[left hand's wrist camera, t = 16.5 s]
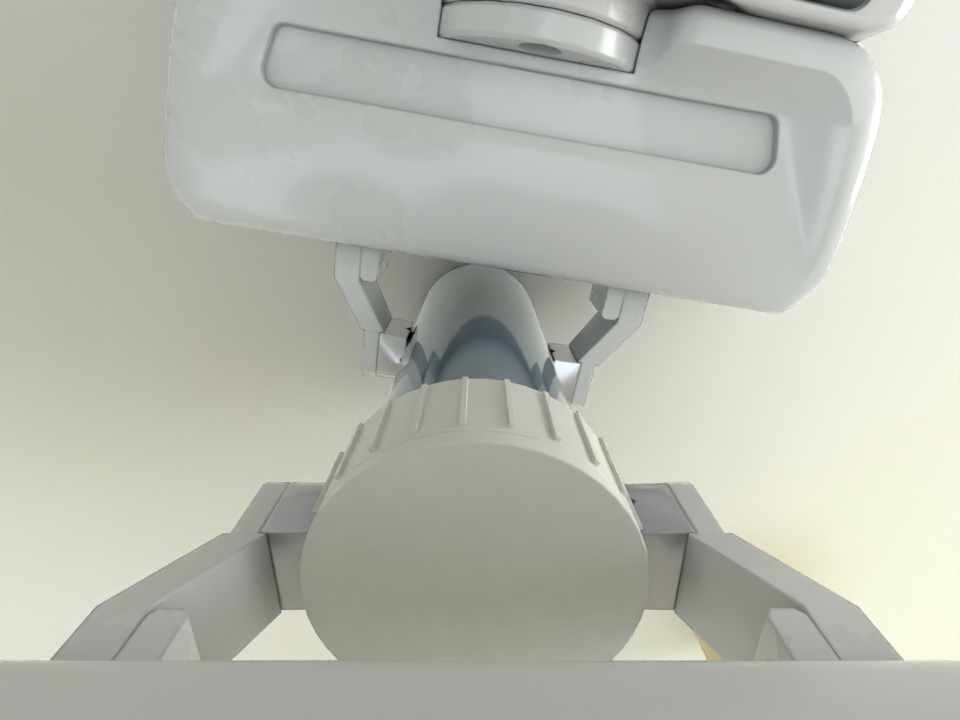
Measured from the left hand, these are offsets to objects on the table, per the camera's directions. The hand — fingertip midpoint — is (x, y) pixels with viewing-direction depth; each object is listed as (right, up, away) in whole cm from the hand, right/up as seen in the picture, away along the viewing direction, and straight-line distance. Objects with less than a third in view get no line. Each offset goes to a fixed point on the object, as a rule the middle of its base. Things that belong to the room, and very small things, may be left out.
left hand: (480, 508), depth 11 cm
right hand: (0, +2, +8) cm, 8 cm away
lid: (0, -1, -2) cm, 2 cm away
